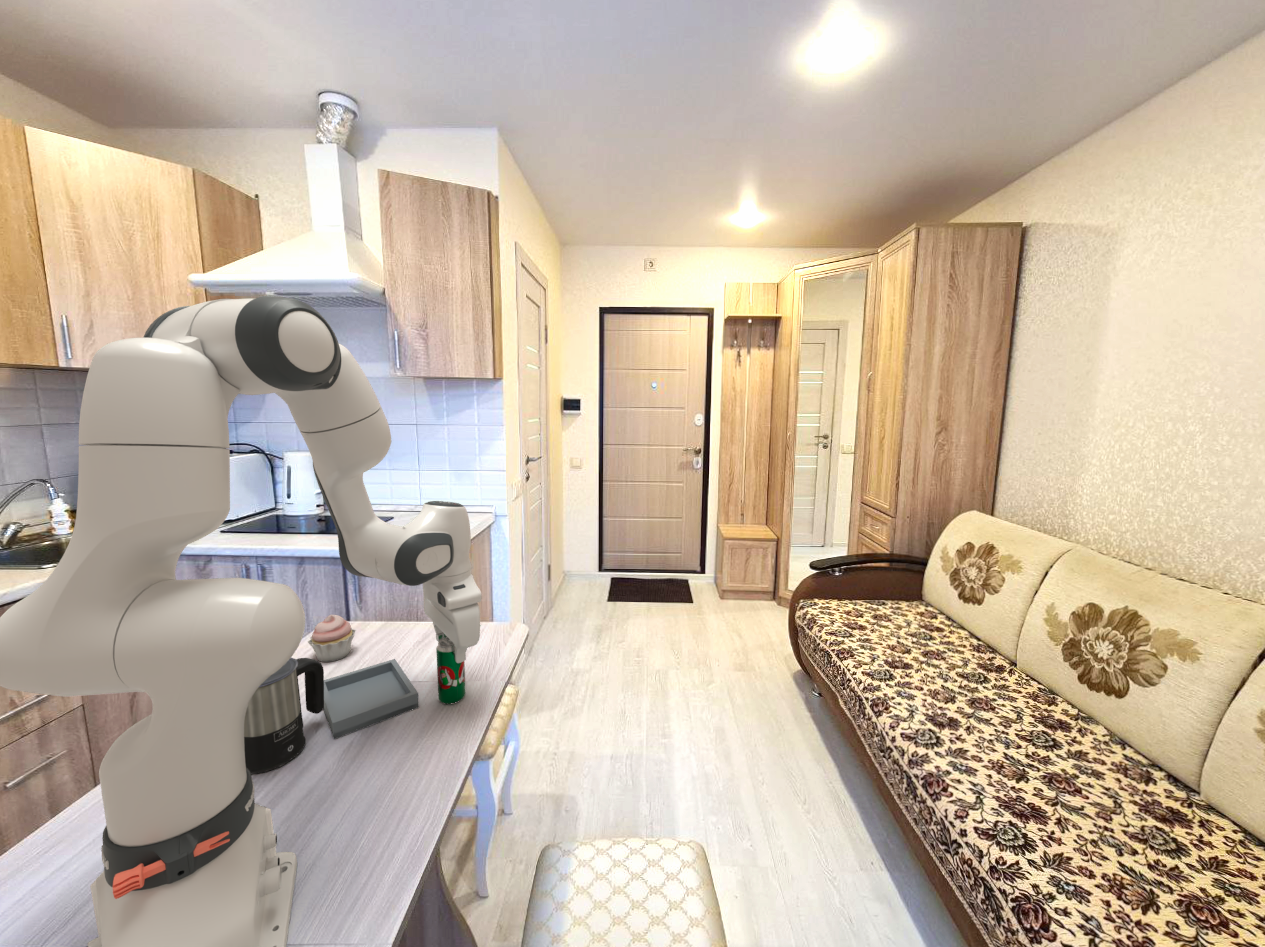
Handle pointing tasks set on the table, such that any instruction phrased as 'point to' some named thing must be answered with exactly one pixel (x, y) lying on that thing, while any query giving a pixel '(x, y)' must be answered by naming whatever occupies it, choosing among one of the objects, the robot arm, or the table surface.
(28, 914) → the table surface
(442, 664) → the soda can
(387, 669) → the tray
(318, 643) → the cupcake
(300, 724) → the milk frother
